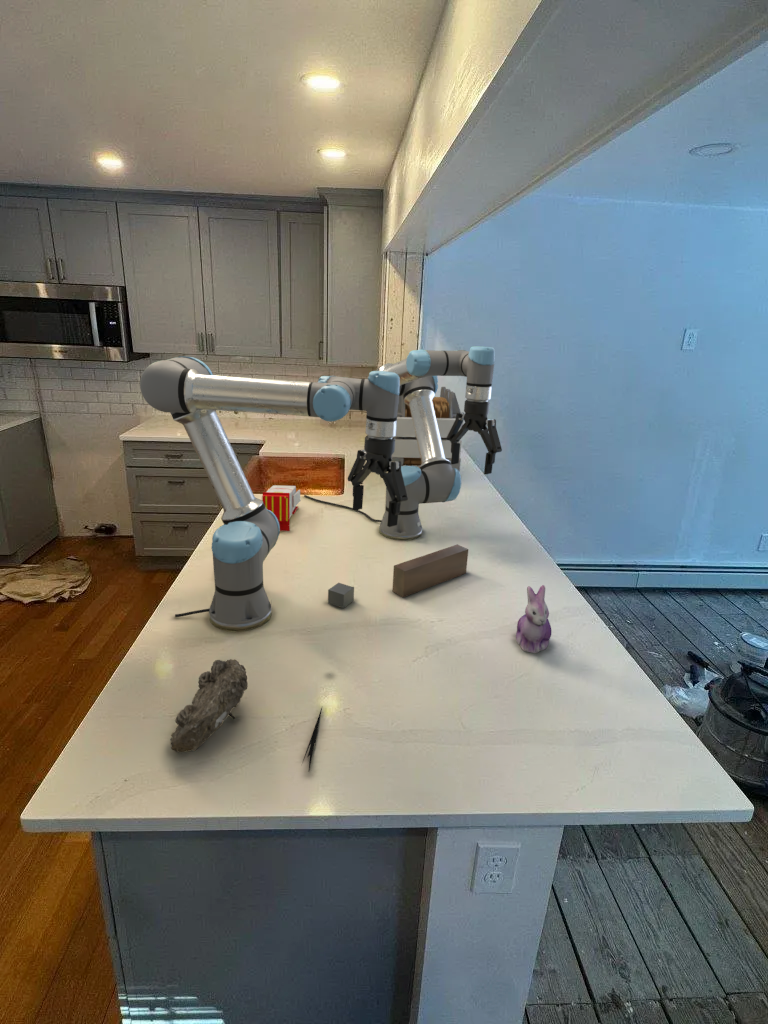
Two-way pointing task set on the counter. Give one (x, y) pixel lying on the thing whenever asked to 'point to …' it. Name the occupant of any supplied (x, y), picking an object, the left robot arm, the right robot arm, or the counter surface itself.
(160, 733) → the counter surface
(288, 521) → the toy
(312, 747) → the feather
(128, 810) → the counter surface
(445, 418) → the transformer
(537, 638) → the figurine
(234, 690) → the fossil
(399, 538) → the right robot arm
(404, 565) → the walnut beam
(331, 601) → the slate block
